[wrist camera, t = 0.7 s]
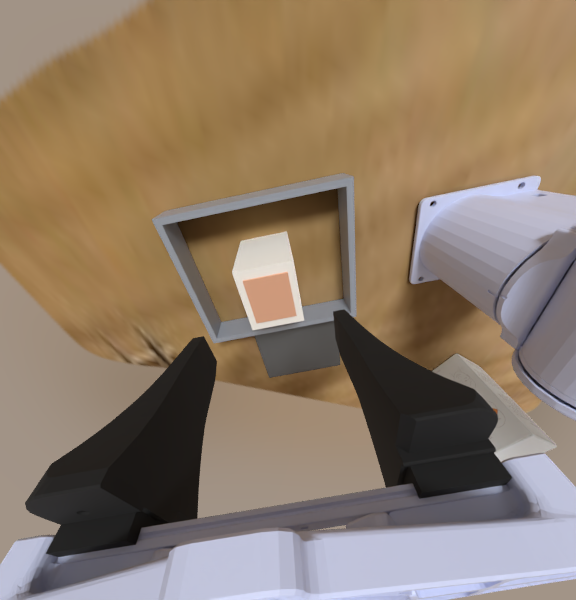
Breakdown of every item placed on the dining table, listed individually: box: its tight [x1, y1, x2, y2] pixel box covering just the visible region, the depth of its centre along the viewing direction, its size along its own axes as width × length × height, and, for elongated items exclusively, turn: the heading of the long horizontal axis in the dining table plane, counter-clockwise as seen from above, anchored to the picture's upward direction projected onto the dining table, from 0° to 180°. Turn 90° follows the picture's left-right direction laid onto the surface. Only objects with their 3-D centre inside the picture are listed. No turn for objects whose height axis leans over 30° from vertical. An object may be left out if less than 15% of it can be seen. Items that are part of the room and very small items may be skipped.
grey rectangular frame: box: [152, 173, 356, 343], centre depth 20 cm, size 14×12×2 cm
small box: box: [432, 353, 557, 462], centre depth 28 cm, size 8×6×10 cm
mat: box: [255, 321, 340, 378], centre depth 27 cm, size 9×8×1 cm
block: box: [232, 232, 304, 330], centre depth 19 cm, size 4×5×6 cm
